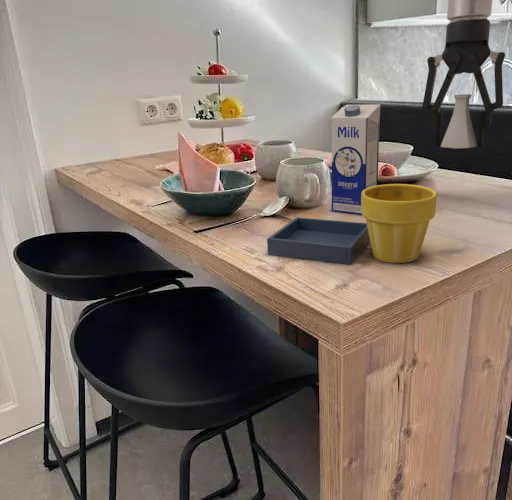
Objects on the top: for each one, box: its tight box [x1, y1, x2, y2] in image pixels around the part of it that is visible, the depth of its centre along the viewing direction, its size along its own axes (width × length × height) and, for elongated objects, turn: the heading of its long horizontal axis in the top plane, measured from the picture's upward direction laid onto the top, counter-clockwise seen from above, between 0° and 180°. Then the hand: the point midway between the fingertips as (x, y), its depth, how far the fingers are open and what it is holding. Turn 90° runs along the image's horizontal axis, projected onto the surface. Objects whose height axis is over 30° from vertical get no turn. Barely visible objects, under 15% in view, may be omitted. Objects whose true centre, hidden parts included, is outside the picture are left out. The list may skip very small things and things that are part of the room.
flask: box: [439, 93, 478, 149], centre depth 98 cm, size 7×7×10 cm
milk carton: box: [331, 103, 382, 216], centre depth 96 cm, size 7×7×20 cm
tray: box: [266, 216, 370, 265], centre depth 79 cm, size 13×12×3 cm
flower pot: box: [361, 183, 438, 264], centre depth 73 cm, size 10×10×10 cm
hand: (458, 145), depth 100 cm, fingers closed on flask, 7 cm apart
